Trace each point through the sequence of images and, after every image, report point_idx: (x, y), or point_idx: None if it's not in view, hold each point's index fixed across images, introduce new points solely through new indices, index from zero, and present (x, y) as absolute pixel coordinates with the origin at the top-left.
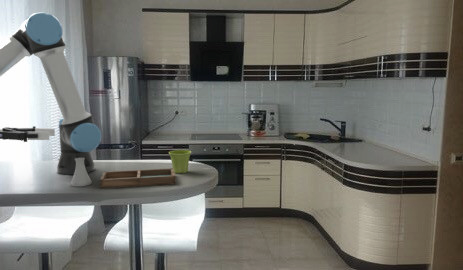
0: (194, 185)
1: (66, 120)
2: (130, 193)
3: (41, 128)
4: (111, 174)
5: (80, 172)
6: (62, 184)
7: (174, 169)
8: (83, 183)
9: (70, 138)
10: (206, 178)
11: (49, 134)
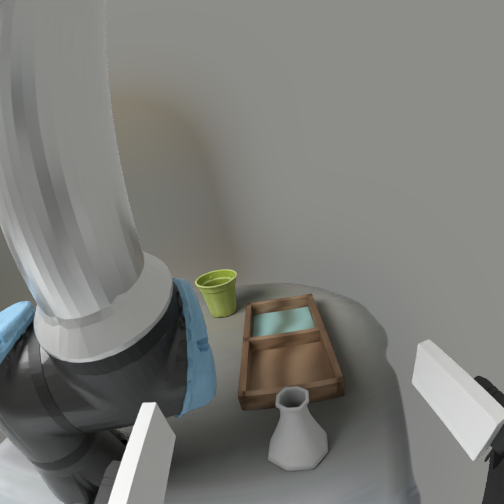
0: (322, 290)
1: (126, 315)
2: (379, 338)
3: (131, 474)
4: (247, 386)
5: (313, 420)
6: (283, 498)
7: (228, 310)
8: (323, 430)
9: (194, 384)
10: (281, 286)
11: (167, 454)
